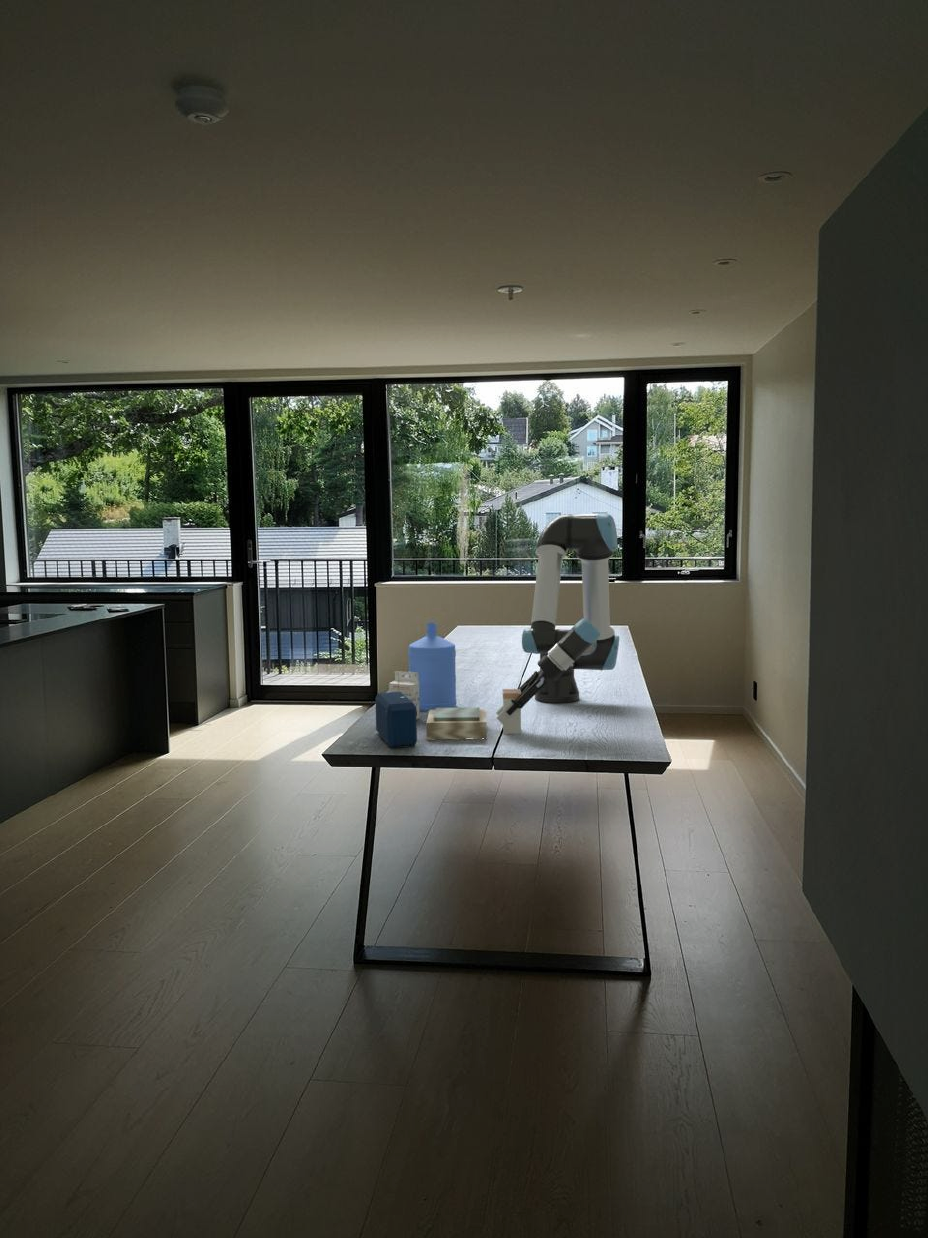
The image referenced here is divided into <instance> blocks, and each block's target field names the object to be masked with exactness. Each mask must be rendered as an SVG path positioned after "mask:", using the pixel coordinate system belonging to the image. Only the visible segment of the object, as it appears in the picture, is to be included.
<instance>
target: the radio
mask: <svg viewBox="0 0 928 1238" xmlns="http://www.w3.org/2000/svg"><path fill="white" fill-rule="evenodd" d="M374 699H375V731H376V732H377V733H378V734H379V736H380V737H381V738H382V739H383V740H384V742H385V743H386V744H387V745H388V746H389V747H390V749H393V748H405V747H406V746H407V747H414V746H415V745H416V744H417V742H418V729H417V728H418V727H417V726H418V724H417V721H418V719H417V710H416V706H415V705H414V703H413V702H412V701H411V700H409V699H408V698H407V697H406V696H405V695H403V694H402V693H401V692H399V679H398V692H389V691H388V692H379V693H377V695H376V696H375V698H374Z"/></svg>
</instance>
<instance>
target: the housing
mask: <svg viewBox="0 0 928 1238" xmlns="http://www.w3.org/2000/svg"><path fill="white" fill-rule="evenodd" d="M520 694H521V690H520V689H518V688H502V706H503V710H504V709H505V708H506V707H507V706H508V705H509V704H510V703H512V702H511V700H514V701H515V700H516V699H517V697H518V696H519V695H520ZM521 709H522V708H519V709H518V710H517V711H516V712H515V713H514V714H513V715H512V716H511V717H510V718H509V719H508V720H507V721H506V722H505V723H504V724H502V731H503V734H504V735H519V734H522V718H521V717H522V710H521Z"/></svg>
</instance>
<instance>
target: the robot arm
mask: <svg viewBox="0 0 928 1238" xmlns="http://www.w3.org/2000/svg"><path fill="white" fill-rule="evenodd" d="M617 549H618V533H617V526H616V522H615V519H614V517H613V516H612V515H610V514H604V513H576V514H574V513H573V514H570V513H564V514H562V515H561V514H560V515H558V516H557V517H555V518H553V519H552V520H551V521H550V522H548V523H547V525H546V526H545V527H544V529H543V530H542V532H541V533H540V535H539V537H538V539H537V543H536V548H535V554H536V556H537V557H538V560H537V568H536V577H535V587H534V594H533V602H532V603H533V604H532V611H531V612H532V613H531V622H530V627H528V628H525V629H523V631H522V634H521V648H522V650H523V652H524V653H526V654H535V655H536V654H537V655H539V660H538V662H537V665H538V667H539V670H538V671H535V670H534V672H533V674H532V675H531V676H530V677H528V678H527V680H526V681H525V682H523V683H522V684H521V685H520V686H519V688H517V689H520V690H521V694H520V695H519V696H518V697H517V699H516V700H515V701H514V700H511V702H512V703H510V704H509V705H508V706H507V707H506V708H505V709H504V710H503V705H502V706H501V707H499V709H498V710H497V711H496V712H495V713H496V715H497V716H496V719H497V721H499V722H500V723H501V724H502V725H503V724H504V723H505V722H506V721H507V720H508V719H509V718H510V717H511V716H512V715H513V714H514V713H515V712H516V711H517V710H518V709H519V708H521V709H523V708H524V707H525V705H527V703H528V702H529V701H530V700H531V699H532V698H533V697H534V699H535V700H536V701H539V702H543V703H549V704H550V703H551V704H552V703H553V704H563V703H565V704H566V703H574V702H577V701H579V700H580V691H579V688H578V685H577V681H576V678H575V670H585V671H586V670H588V671H589V670H590V671H611V670H614V669H615V667H616V665H617V659H618V651H619V645H620V636H619V635H616V634H615V633H616V632H615V629H614V628H613V627H611V619H610V614H611V613H610V586H609V585H610V579H609V578H610V577H609V576H610V575H609V560H610V559H611V558H612V557H613V556H614V552H615V551H617ZM567 551H572V552H573V551H575V552H576V557H577V559H579V560H580V561H581V580H582V581H581V583H582V585H581V586H582V611H583V618H580V619H579V621H578V622H577V623H575V624H574V625H573V626H572V627H571V628H570V629H556V625H557V616H558V608H559V607H558V606H559V597H560V586H561V575H562V567H563V566H562V565H563V560H564V559H565V557H566V556H567Z"/></svg>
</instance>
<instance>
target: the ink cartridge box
mask: <svg viewBox="0 0 928 1238" xmlns="http://www.w3.org/2000/svg"><path fill="white" fill-rule="evenodd" d="M406 675H407V676H408V677H406ZM409 676H411V677H410V678H409ZM398 679H399V692H401V693H402V694H403V695H405V696H406V697H407V698H408V699H409V700H411V701H412V702H413V703H414V705H415V706H416V710H417V720H418V719H420V711H419V682H418V673H417V672H409V671H400V670H399V671H398V670H396V671H394V680H393V681H391V682H389V683H388V692H398Z"/></svg>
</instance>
